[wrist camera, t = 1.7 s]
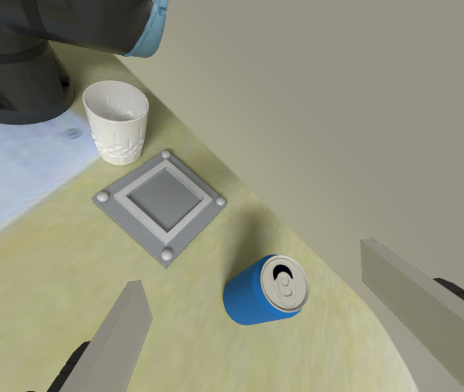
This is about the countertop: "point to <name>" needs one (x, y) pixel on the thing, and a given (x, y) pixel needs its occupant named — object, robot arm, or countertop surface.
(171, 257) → the socket plate
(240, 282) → the beverage can
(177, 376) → the countertop surface
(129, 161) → the white cup
